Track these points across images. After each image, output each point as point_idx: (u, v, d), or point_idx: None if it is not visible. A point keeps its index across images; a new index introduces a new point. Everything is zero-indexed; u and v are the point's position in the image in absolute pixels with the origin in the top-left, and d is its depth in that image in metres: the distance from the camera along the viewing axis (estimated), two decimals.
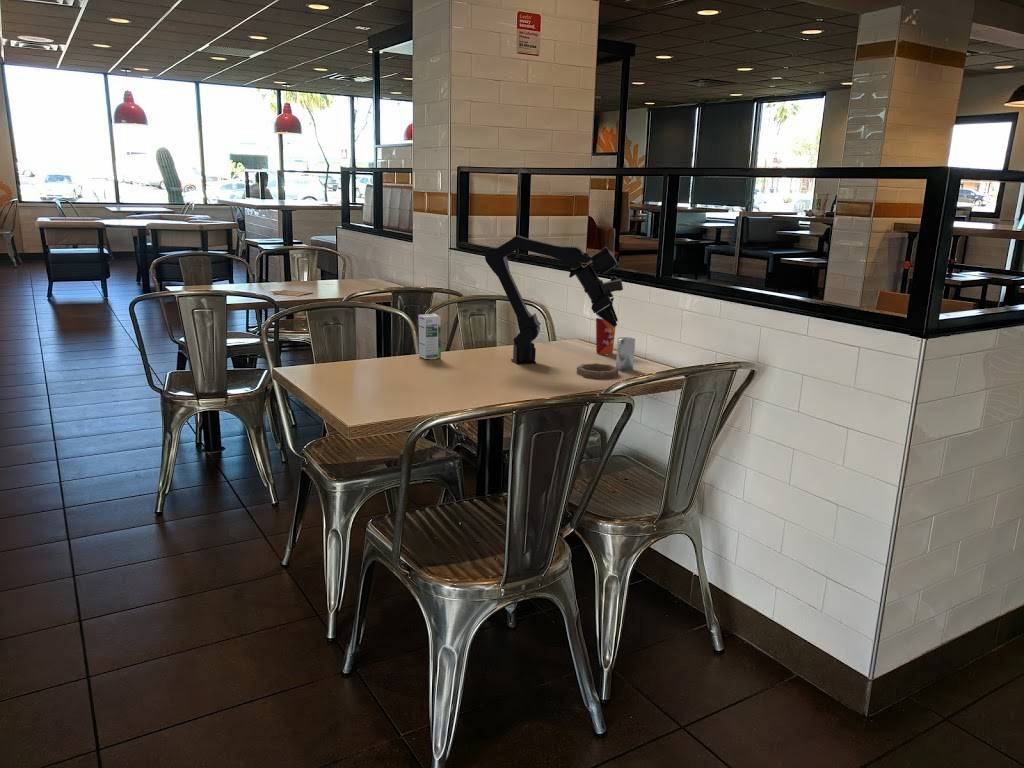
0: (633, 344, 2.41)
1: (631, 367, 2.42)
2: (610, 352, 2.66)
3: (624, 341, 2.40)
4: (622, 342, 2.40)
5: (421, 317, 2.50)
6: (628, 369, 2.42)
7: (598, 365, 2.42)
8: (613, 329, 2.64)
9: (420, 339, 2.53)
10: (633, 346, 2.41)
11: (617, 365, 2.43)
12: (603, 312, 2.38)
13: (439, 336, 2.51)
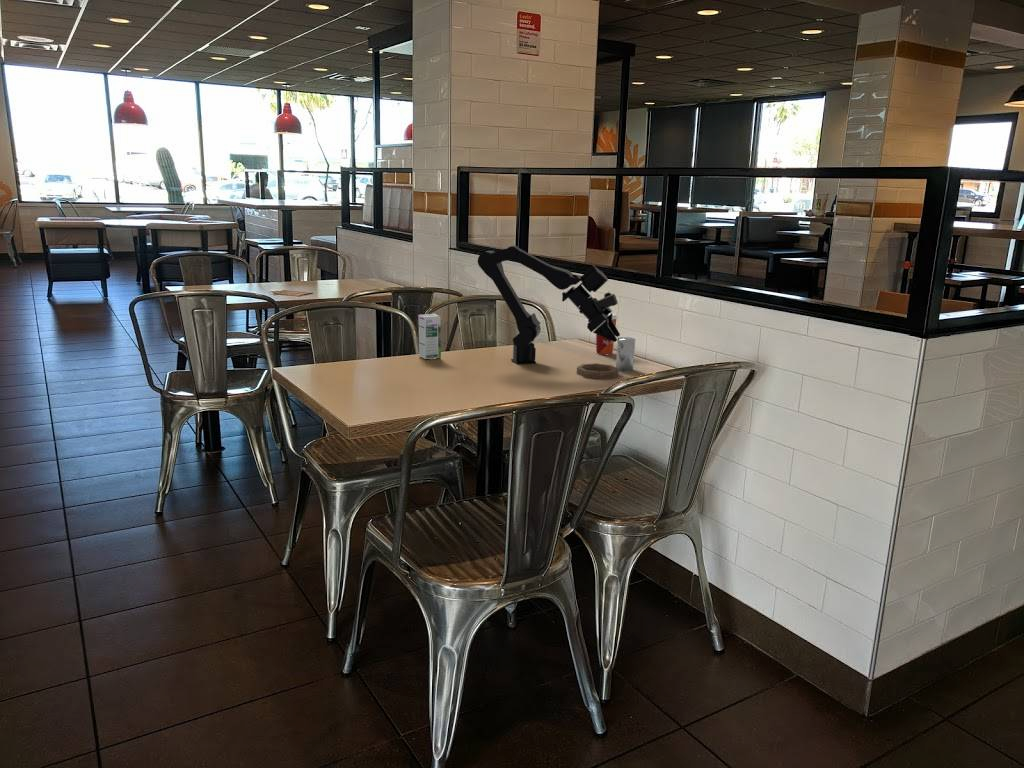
0: (633, 344, 2.41)
1: (631, 367, 2.42)
2: (610, 352, 2.66)
3: (624, 341, 2.40)
4: (622, 342, 2.40)
5: (421, 317, 2.50)
6: (628, 369, 2.42)
7: (598, 365, 2.42)
8: None
9: (420, 339, 2.53)
10: (633, 346, 2.41)
11: (617, 365, 2.43)
12: (601, 329, 2.37)
13: (439, 336, 2.51)
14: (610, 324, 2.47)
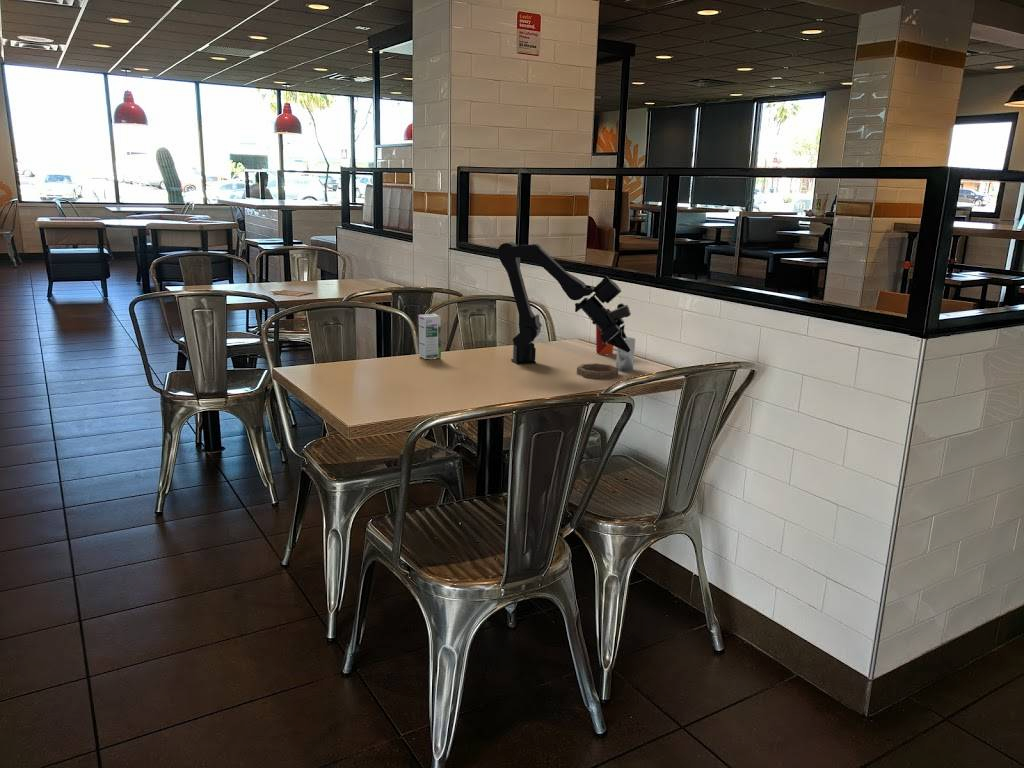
0: (633, 344, 2.41)
1: (631, 367, 2.42)
2: (610, 352, 2.66)
3: None
4: None
5: (421, 317, 2.50)
6: (628, 369, 2.42)
7: (598, 365, 2.42)
8: None
9: (420, 339, 2.53)
10: (633, 346, 2.41)
11: (617, 365, 2.43)
12: (614, 340, 2.39)
13: (439, 336, 2.51)
14: (622, 336, 2.45)
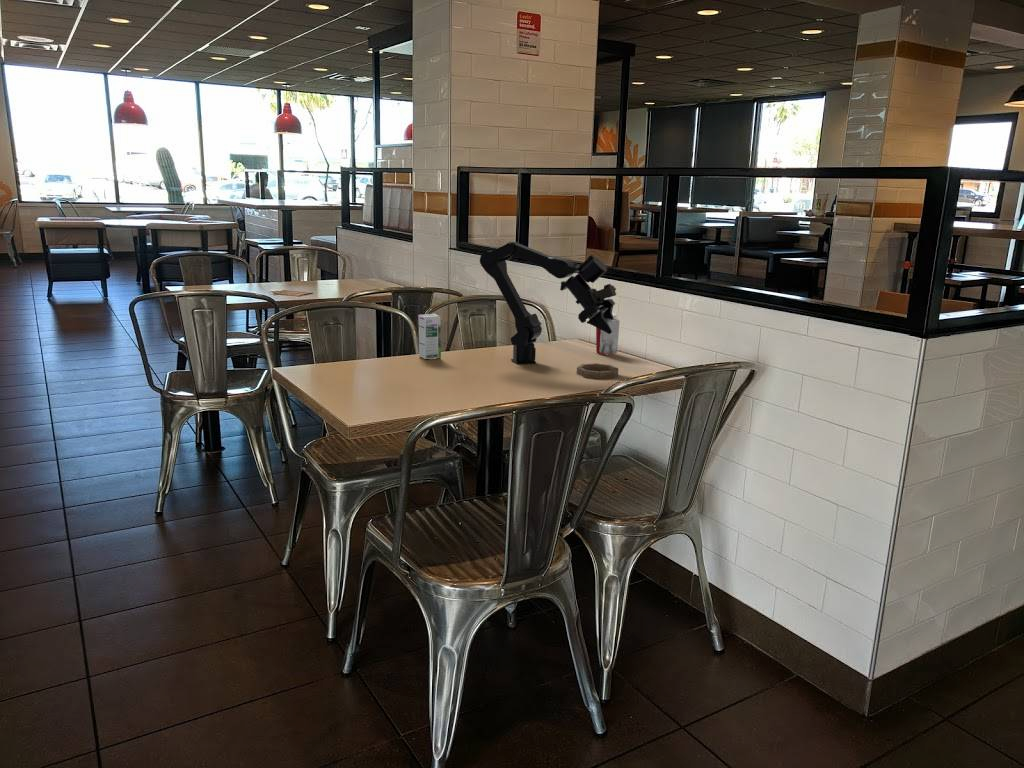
0: (616, 326, 2.34)
1: (613, 349, 2.35)
2: None
3: None
4: None
5: (421, 317, 2.50)
6: (610, 351, 2.35)
7: (598, 365, 2.42)
8: None
9: (420, 339, 2.53)
10: (616, 328, 2.34)
11: (600, 347, 2.37)
12: (595, 320, 2.33)
13: (439, 336, 2.51)
14: (609, 317, 2.39)
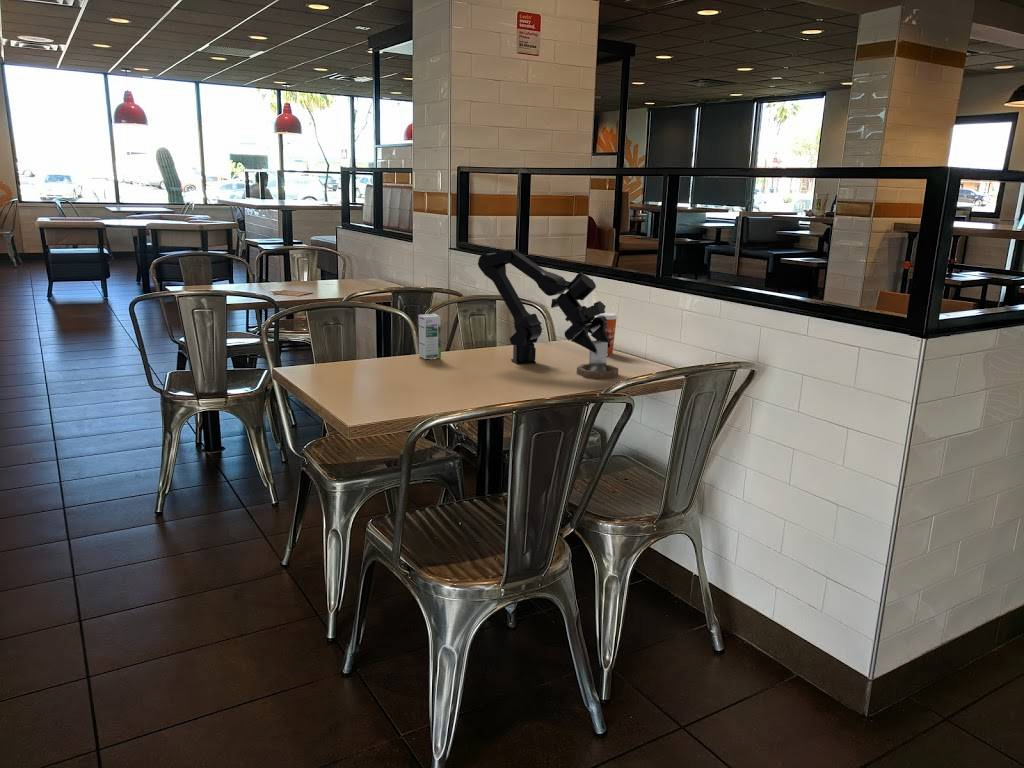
0: (603, 348, 2.33)
1: None
2: (610, 352, 2.66)
3: None
4: None
5: (421, 317, 2.50)
6: None
7: None
8: (613, 329, 2.64)
9: (420, 339, 2.53)
10: (603, 350, 2.33)
11: (588, 369, 2.37)
12: (580, 339, 2.31)
13: (439, 336, 2.51)
14: (601, 334, 2.39)
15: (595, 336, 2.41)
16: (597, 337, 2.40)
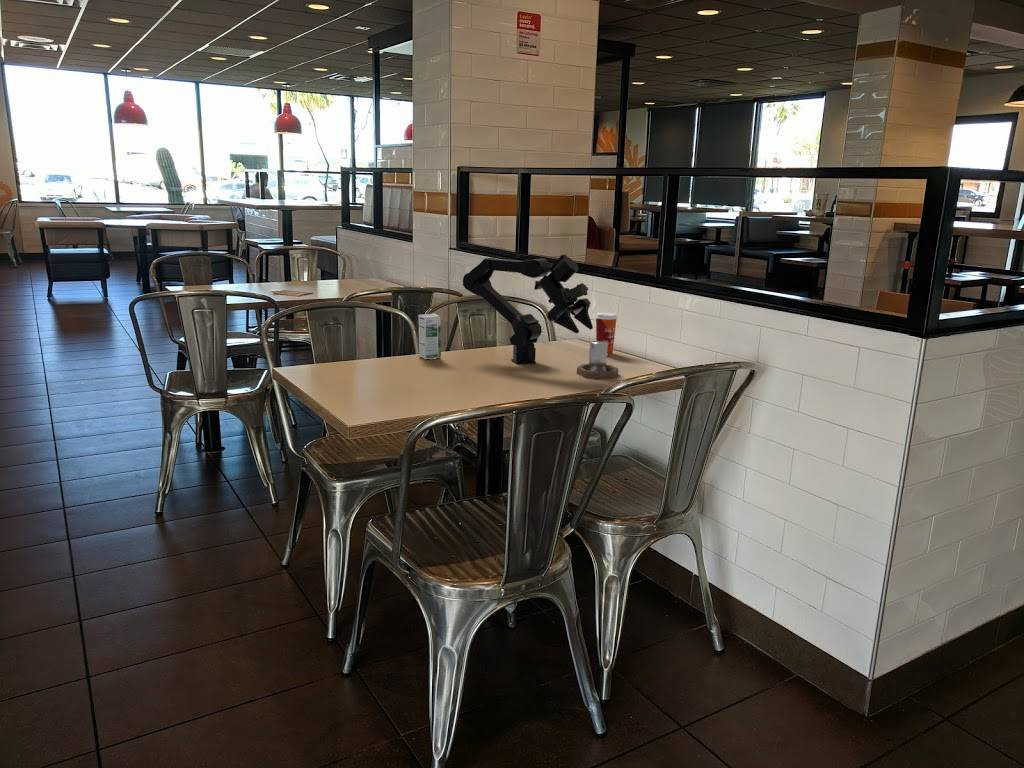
0: (603, 348, 2.33)
1: None
2: (610, 352, 2.66)
3: (593, 344, 2.33)
4: (591, 345, 2.33)
5: (421, 317, 2.50)
6: None
7: None
8: (613, 329, 2.64)
9: (420, 339, 2.53)
10: (603, 350, 2.33)
11: (588, 369, 2.37)
12: (562, 320, 2.34)
13: (439, 336, 2.51)
14: (584, 316, 2.41)
15: (578, 318, 2.43)
16: (580, 319, 2.42)
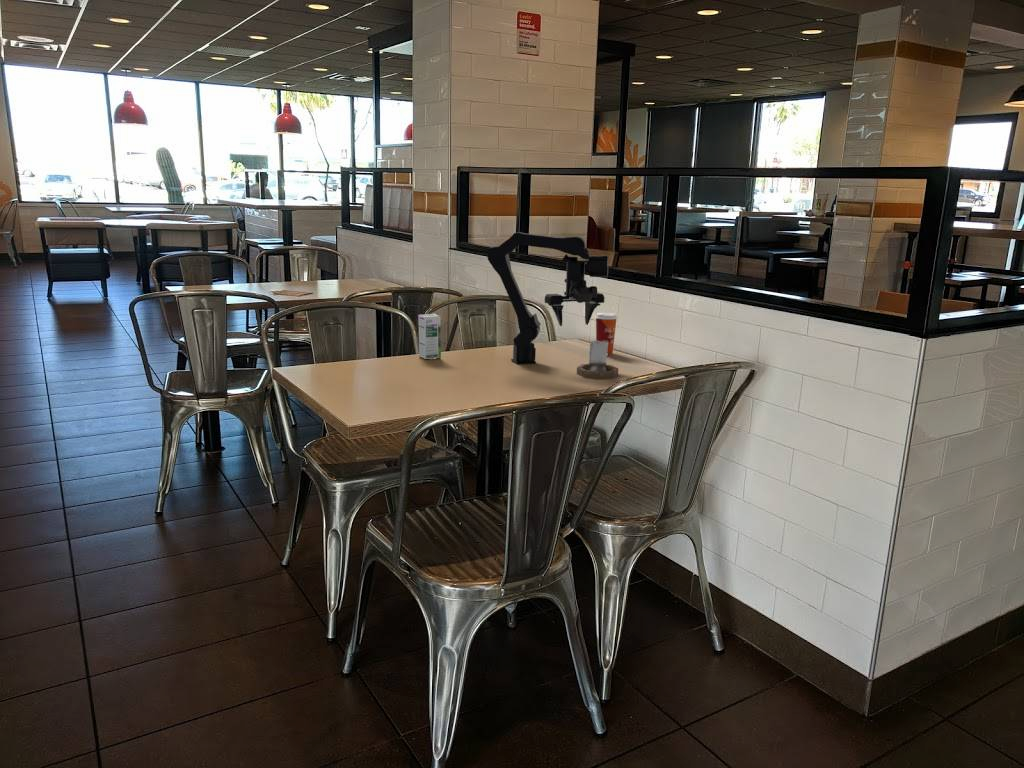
0: (603, 348, 2.33)
1: None
2: (610, 352, 2.66)
3: (593, 344, 2.33)
4: (592, 345, 2.33)
5: (421, 317, 2.50)
6: None
7: None
8: (613, 329, 2.64)
9: (420, 339, 2.53)
10: (603, 350, 2.33)
11: (588, 369, 2.37)
12: (556, 307, 2.43)
13: (439, 336, 2.51)
14: (588, 310, 2.46)
15: (585, 306, 2.48)
16: (586, 308, 2.48)
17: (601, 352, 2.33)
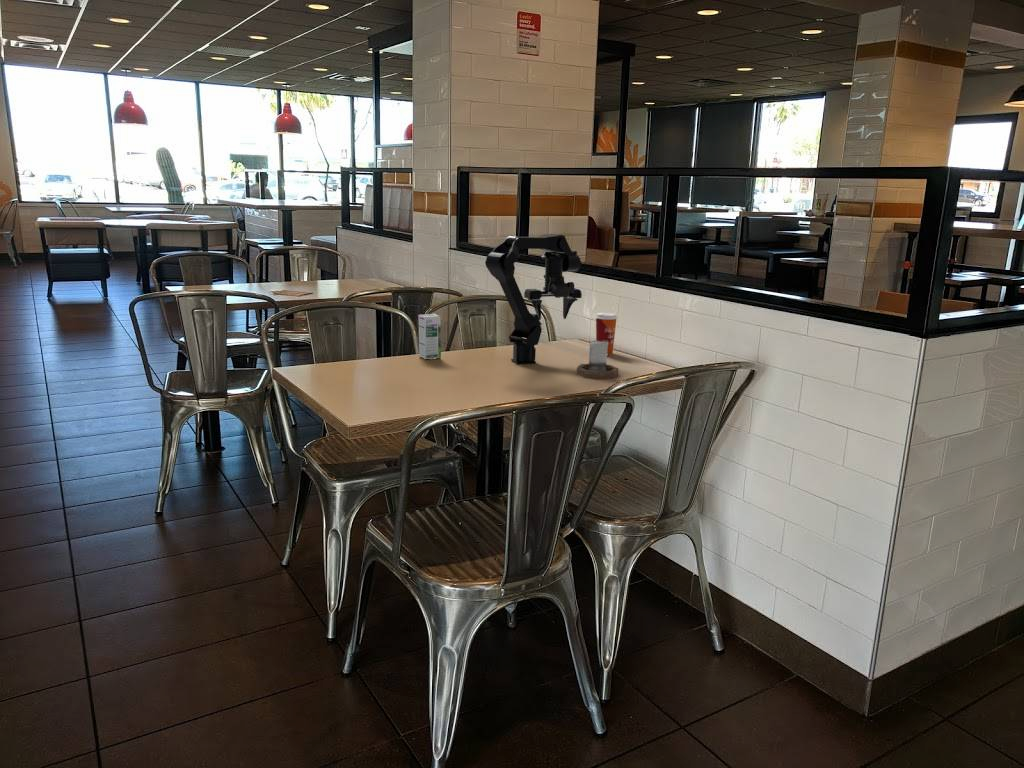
0: (603, 348, 2.33)
1: None
2: (610, 352, 2.66)
3: (593, 344, 2.33)
4: (592, 345, 2.34)
5: (421, 317, 2.50)
6: None
7: None
8: (613, 329, 2.64)
9: (420, 339, 2.53)
10: (603, 350, 2.33)
11: (588, 369, 2.37)
12: (535, 302, 2.54)
13: (439, 336, 2.51)
14: (566, 305, 2.57)
15: (563, 301, 2.59)
16: (564, 303, 2.59)
17: (601, 352, 2.33)
